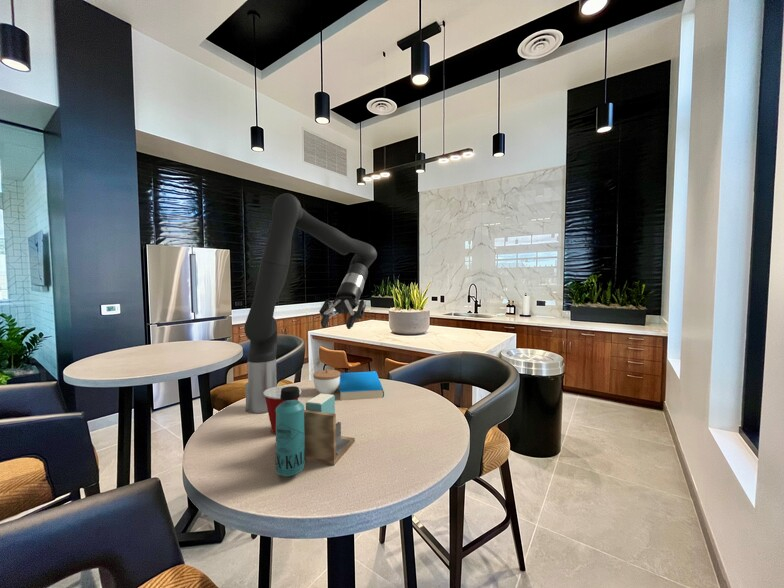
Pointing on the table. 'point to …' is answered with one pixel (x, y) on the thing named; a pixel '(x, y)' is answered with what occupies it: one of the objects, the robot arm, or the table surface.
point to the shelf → (324, 438)
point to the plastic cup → (274, 403)
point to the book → (360, 385)
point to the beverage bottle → (290, 433)
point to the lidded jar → (326, 381)
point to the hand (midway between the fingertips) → (335, 326)
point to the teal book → (322, 403)
